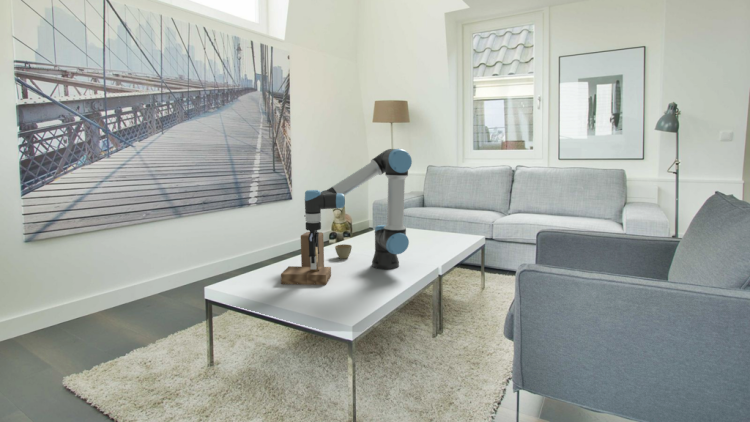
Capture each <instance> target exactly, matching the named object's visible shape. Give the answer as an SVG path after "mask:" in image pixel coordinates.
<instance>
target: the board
mask: <svg viewBox="0 0 750 422" xmlns="http://www.w3.org/2000/svg"><path fill="white" fill-rule="evenodd" d="M331 277H332V267H331V266H324V267H318V271H317V272H311V267H302V266H297V265H296V266H290V265H289V266H288V267H287V268H286V269H284V271H282V272H281V274H280V280H281V283H280V284H281V285H300V286H301V285H307V286H312V285H313V286H317V285H318V286H327V284H328V282H329V281H330V279H331Z"/></svg>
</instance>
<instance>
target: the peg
mask: <svg viewBox="0 0 750 422" xmlns="http://www.w3.org/2000/svg"><path fill="white" fill-rule="evenodd" d="M315 255H316V269H311V272H317V271H318V247H316V253H315Z"/></svg>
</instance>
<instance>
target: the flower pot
mask: <svg viewBox="0 0 750 422" xmlns="http://www.w3.org/2000/svg"><path fill="white" fill-rule="evenodd" d="M334 248H335V249H334V250H335V253H336V255H337V256H338V258H339V259H340V258H341V259H342V260H346V259H348V258H349V257H350V256H351V255H350V254H351V252H352V248H353V247H352V245H351V244H345V243H344V244H338V245H335V246H334ZM341 259H340V260H341Z"/></svg>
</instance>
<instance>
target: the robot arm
mask: <svg viewBox="0 0 750 422" xmlns="http://www.w3.org/2000/svg"><path fill="white" fill-rule="evenodd" d="M412 163H413V161H412V157H411V154H410V153H409V152H408V151H406V150H405V149H401V148H388V149H386V150H383V151H381V153H379V154H378V155H377V156H375V157H374V158H372V159H370V162H369V163H367V164H365V165H364V166H363V167H361V168H359V169H358V170H356V171H355V172H353V173H352V174H350V175H348V176H347V177H345V178H344V179H342V180H340V181H339V182H337V183H336V184H334V185H332V186H331V187H329V188H328V189H326V190H321V191H320V189H307V190H306V191H305V192H304V212H305V213H304V217H305V230H306V231H308V232H310V234H309V237H308V240H309V257H310V262H311V269H316V255H315V253H316V247H318V251H319V239H318V236H319V231H320V230H321V229H322V222H321V221H322V213H321V212H322V211H321V210H329V209H330V210H331V209H332V210H333V209H343V208H344V207H345V204H346V198H345V197H346V195H348V194H349V193H351V192H353V191H354V190H355V189H357V188H359V187H360V186H362V185H364V184H365V183H367V182H369V181H370V180H372V179H373V178H374V177H377V176H382V175H384V174H385V176H386V178H387V179H388V180H387V204H386V205H387V206H386V207H387V208H386V211H387V212H386V224H380V225H379V224H378V225H376V226H375V227H374V255H373V257H372V262H371V265H372V267H373V268H374V269H375V268H376V269H379V270H391V269H396V268H399V266H400V261H399V257H398V255H402V254H403V253H405V251H407V249H408V247H409V245H410V244H409V243H410V241H409V238H408V236H407V227H406V226H405V225H404V217H405V216H404V213H405V212H404V210H405V209H404V207H405V185H406V183H405V181H406V178H407V177H408V176H409V170H410V169H411V167H412ZM318 254H319V252H318Z"/></svg>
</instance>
